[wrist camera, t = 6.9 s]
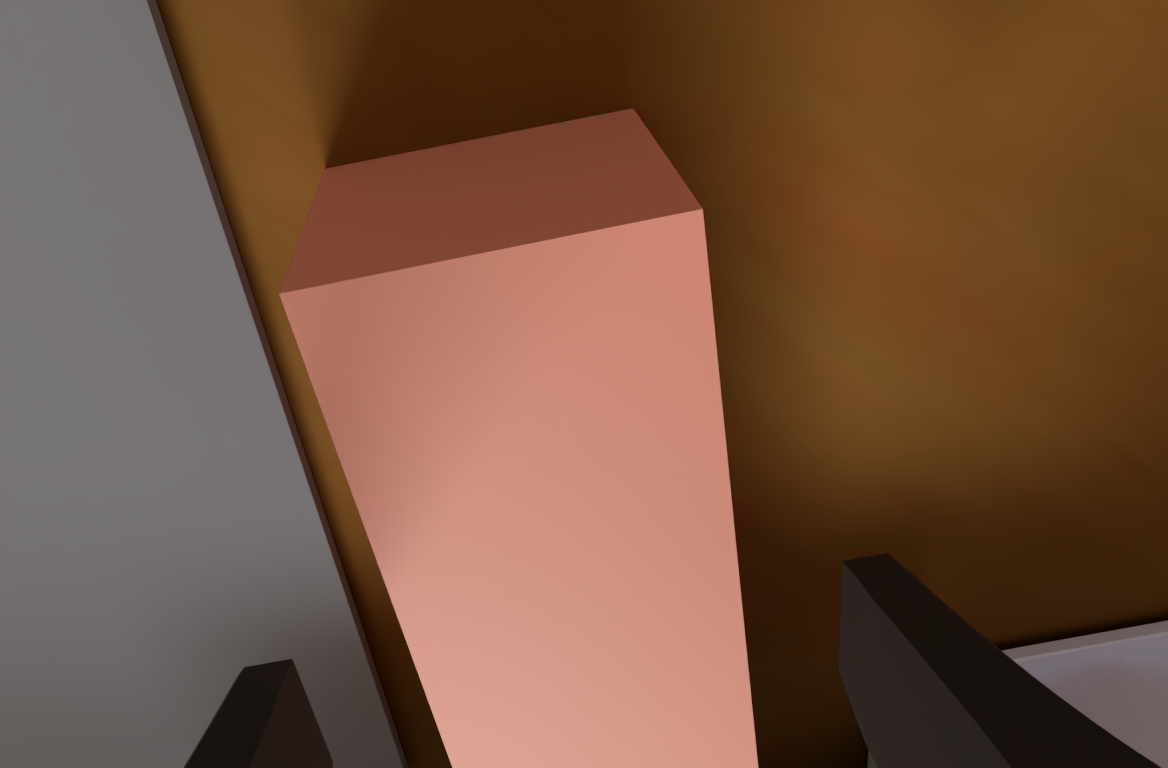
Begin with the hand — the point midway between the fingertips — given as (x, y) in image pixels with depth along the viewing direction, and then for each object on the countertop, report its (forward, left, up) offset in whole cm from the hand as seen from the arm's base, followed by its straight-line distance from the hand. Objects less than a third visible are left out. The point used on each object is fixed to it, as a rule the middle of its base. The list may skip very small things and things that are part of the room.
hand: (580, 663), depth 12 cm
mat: (+9, 0, -6) cm, 11 cm away
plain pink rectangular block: (0, +1, -7) cm, 7 cm away
